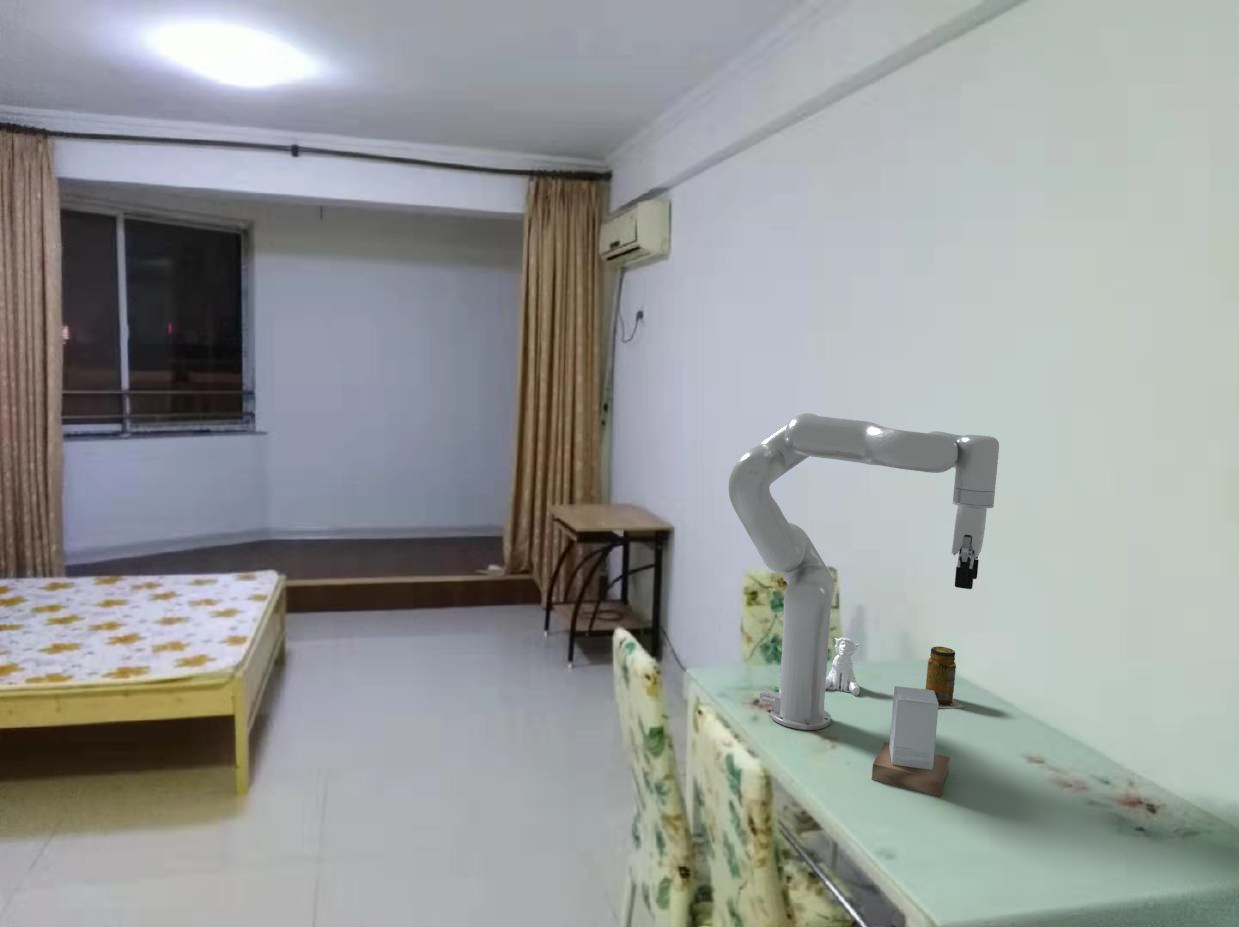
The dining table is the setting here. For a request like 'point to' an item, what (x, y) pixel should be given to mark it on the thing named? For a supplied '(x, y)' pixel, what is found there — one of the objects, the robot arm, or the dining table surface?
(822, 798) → the dining table surface
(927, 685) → the condiment
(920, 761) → the supplement box
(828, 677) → the sitting furry creature
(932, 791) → the walnut base
